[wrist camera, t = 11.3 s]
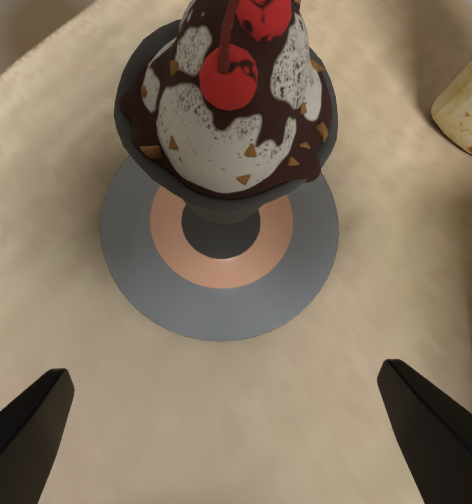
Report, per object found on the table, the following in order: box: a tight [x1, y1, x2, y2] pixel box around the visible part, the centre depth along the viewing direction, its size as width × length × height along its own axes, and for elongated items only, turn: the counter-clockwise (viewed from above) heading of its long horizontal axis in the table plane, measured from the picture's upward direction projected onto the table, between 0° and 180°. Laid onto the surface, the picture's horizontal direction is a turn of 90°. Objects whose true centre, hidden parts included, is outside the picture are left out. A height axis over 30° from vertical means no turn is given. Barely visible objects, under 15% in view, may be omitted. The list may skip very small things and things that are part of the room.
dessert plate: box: [100, 155, 338, 341], centre depth 19 cm, size 15×15×1 cm
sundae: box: [114, 0, 338, 259], centre depth 11 cm, size 7×7×15 cm
